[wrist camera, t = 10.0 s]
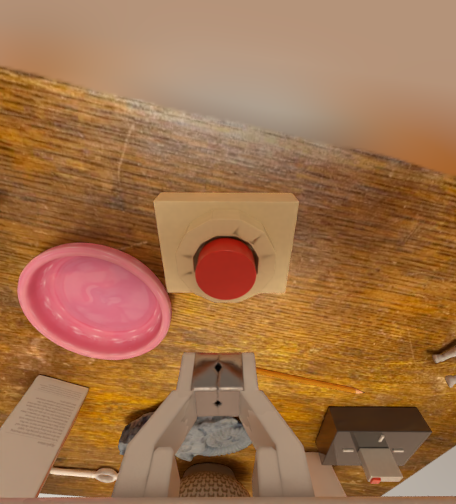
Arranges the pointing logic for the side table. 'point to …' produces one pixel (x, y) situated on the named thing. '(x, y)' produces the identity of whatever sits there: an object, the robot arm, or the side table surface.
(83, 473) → the key
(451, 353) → the soldier figure
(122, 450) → the fossil
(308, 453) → the pale flower pot
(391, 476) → the stove knob
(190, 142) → the side table surface
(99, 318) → the saucer
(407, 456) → the switch housing
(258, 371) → the pencil
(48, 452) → the small box
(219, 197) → the button box
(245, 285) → the stop button
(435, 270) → the side table surface
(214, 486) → the planter
